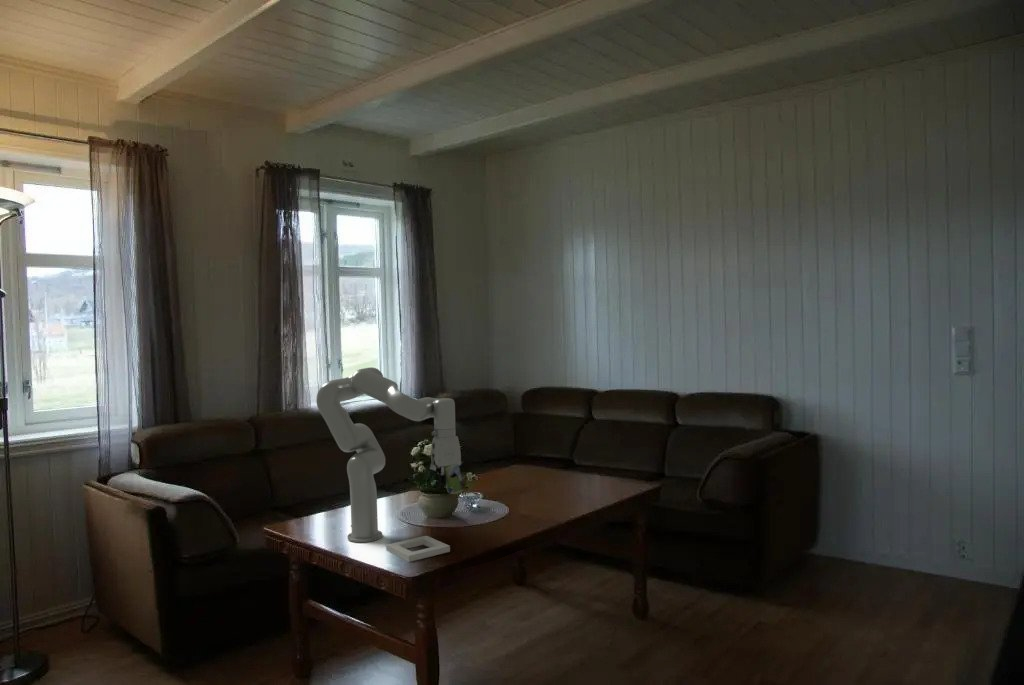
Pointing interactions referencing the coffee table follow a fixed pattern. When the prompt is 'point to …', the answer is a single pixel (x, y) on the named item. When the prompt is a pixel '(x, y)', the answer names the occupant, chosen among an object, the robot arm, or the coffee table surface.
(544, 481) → the coffee table surface
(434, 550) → the can holder
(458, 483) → the beverage can
